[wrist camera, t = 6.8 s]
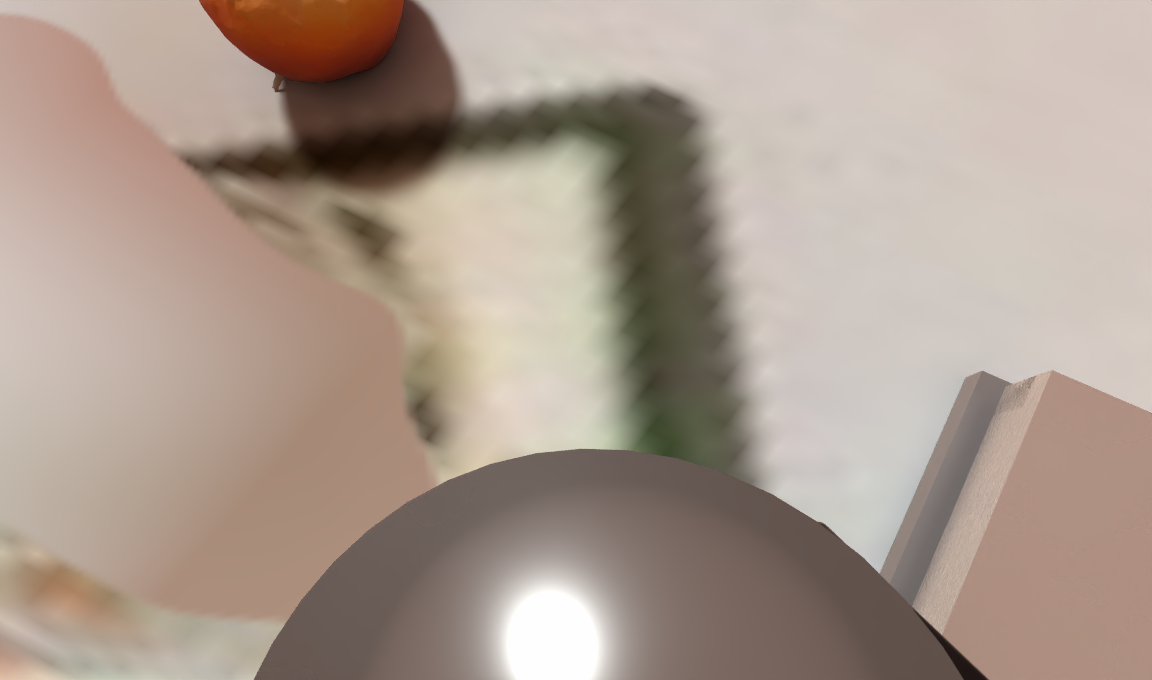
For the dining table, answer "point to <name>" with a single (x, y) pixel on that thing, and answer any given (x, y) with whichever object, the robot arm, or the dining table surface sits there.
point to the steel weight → (602, 585)
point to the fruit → (309, 34)
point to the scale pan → (1051, 540)
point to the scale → (942, 484)
